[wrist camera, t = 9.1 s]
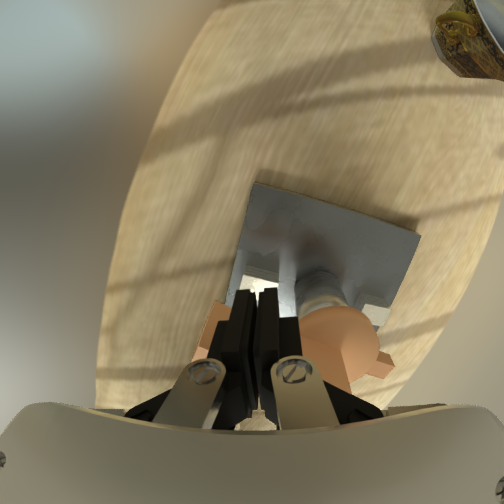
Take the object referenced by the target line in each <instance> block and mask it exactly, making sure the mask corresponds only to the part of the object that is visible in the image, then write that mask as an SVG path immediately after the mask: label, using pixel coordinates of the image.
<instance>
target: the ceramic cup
mask: <svg viewBox="0 0 504 504" xmlns="http://www.w3.org/2000/svg"><path fill="white" fill-rule="evenodd" d="M431 39H432V42H433V44H434V46H435V49H436V51H437V53H438V56H439V58H440V60H441V61H442V62H443V63H445V64H446V65H447V66H448V67H449V68H450V69H451V70H452V71H453V72H454V73H455V74H456V75H457V76H459V77H464V78H482V79H496V80H500V81H504V0H456V1H455V3H454V4H453V5H452V6H451V7H450V8H449V10H448V11H447V12H446V13H445V14H442V15H440V16H439V17H437V19H436V28H435V30H434V32H433V35H432V38H431Z"/></svg>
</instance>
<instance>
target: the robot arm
mask: <svg viewBox="0 0 504 504" xmlns="http://www.w3.org/2000/svg"><path fill="white" fill-rule="evenodd" d="M258 397H260V404H261V409H262V410H265V417H266V418H267V419H269V420H270V421H271V422H273V423H274V424H275V425H276V430H271V431H239V430H240V422H241V421H243V420H244V419H246V418H252V410H257V408H258ZM0 504H504V425H503V424H502V422H501V421H500V420H499V419H498V418H497V416H496V415H495V414H493V413H492V412H491V411H490V410H488V409H486V408H484V407H481V406H476V405H446V404H439V403H438V404H428V405H416V406H400V407H388V409H387V410H380V409H379V408H377V407H376V406H374V405H372V404H370V403H368V402H366V401H364V400H362V399H360V398H358V397H356V396H354V395H352V394H350V393H348V392H346V391H344V390H342V389H340V388H338V387H336V386H334V385H332V384H330V383H328V382H326V381H324V380H322V377H321V375H320V372H319V370H318V367H317V365H316V364H315V362H314V361H312V360H311V359H309V358H307V357H304V356H303V354H302V345H301V337H300V329H299V321H298V316H294V317H280V315H279V302H278V289H277V287H271V288H264V291H263V292H259V297H258V307H257V300H256V293H255V292H251V291H250V289H241V290H236V294H235V297H234V301H233V305H232V309H231V313H230V316H229V320H220V321H218V323H217V326H216V329H215V332H214V335H213V338H212V342H211V345H210V348H209V351H208V354H207V357H206V358H204V359H198V360H196V361H193V362H191V363H190V364H189V365H187V366H186V367H185V369H184V370H183V371H182V373H181V375H180V376H179V378H178V380H177V381H176V383H175V385H174V386H173V388H172V389H170V390H168V391H166V392H164V393H162V394H160V395H158V396H156V397H154V398H152V399H150V400H148V401H146V402H143V403H141V404H139V405H137V406H135V407H133V408H132V409H130V410H129V411H128V412H125V410H124V409H90V408H83V407H79V406H74V405H69V404H64V403H55V402H44V403H43V402H42V403H34V404H30V405H28V406H26V407H24V408H23V409H22V410H21V411H20V412H19V413H18V414H17V415H16V416H15V417H14V419H13V420H12V421H11V422H10V423H9V425H8V426H7V427H6V429H5V430H4V432H3V433H2V434H1V436H0Z"/></svg>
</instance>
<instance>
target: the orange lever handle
mask: <svg viewBox="0 0 504 504" xmlns="http://www.w3.org/2000/svg"><path fill="white" fill-rule="evenodd" d="M231 309H232V308H231V307H229V306H226V305H224V304H222V303H219V302H217V301H215V303H214V305H213V307H212V309H211V311H210V313H209V316H208V318H207V320H206V323H205V325H204V328H203V330H202V333H201V336H200V339H199V341H198V344H197V347H196V349H195V352H194V355H193V357H192V360H191V362H193V361H196V360H198V359H204V358H206V357H207V354H208V351H209V348H210V345H211V342H212V338H213V335H214V332H215V329H216V326H217V323H218V321H220V320H229V316H230V313H231ZM298 321H299V329H300V337H301V345H302V354H303V356H304V357H307V358H309V359H311V360H312V361H314V362H315V364H316V365H317V367H318V370H319V372H320V375H321V377H322V380H324V381H326V382H328V383H330V384H332V385H334V386H336V387H338V388H340V389H342V390H344V391H346V392H348V393H350V394H352V393H351V389H350V385H349V383H351V382H353V381H355V380H357V379H358V378H360V377H361V376H363V375H364V374H368V375H371V376H375V377H379V378H382V379H384V378H385V377H386V376H387V374H388V373H389V372H390V371H391V370H392V369H393V368H394V367H395V366H394V363H393V361H392V359H391V357H390V355H389V354H386V353H384V352H381V351H379V349H380V343H379V339H378V336H377V334H376V332H375V330H374V327H373V325H372V323H371V321H370V320H369V318H368V317H367V316H366V315H365V314H364V313H362V312H361V311H359V310H357V309H355V308H352V307H347V306H328V307H324V308H320V309H317V310H314V311H312V312H310V313H308V314H307V315H305V316H303V317H302V318H301V319H299V320H298Z"/></svg>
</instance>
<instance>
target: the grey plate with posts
mask: <svg viewBox="0 0 504 504" xmlns="http://www.w3.org/2000/svg"><path fill="white" fill-rule="evenodd" d="M420 238H421V235H420V234H418V233H417V232H415V231H412V230H410V229H407V228H404V227H401V226H399V225H396V224H393V223H390V222H387V221H385V220H382V219H379V218H376V217H373V216H370V215H367V214H364V213H361V212H358V211H355V210H352V209H349V208H345V207H342V206H339V205H336V204H333V203H329V202H326V201H323V200H319V199H316V198H312V197H309V196H306V195H302V194H298V193H295V192H291V191H288V190H284V189H280V188H276V187H272V186H269V185H265V184H261V183H257V182H254V184H253V187H252V191H251V195H250V200H249V204H248V208H247V212H246V216H245V220H244V224H243V228H242V233H241V237H240V241H239V245H238V249H237V254H236V258H235V262H234V266H233V271H232V275H231V279H230V283H229V288H228V292H227V296H226V301H225V305H226V306H229V307H231V308H232V305H233V301H234V297H235V294H236V290H241V289H250V291H251V292H255V293H256V300H257V307H258V297H259V292H263V291H264V288H271V287H277V289H278V302H279V315H280V317H294V316H298V320H299V319H301V318H302V317H303V316H305V315H307V314H308V313H310V312H312V311H314V310H317V309H320V308H324V307H328V306H347V307H352V308H355V309H357V310H359V311H361V312H362V313H364V314H365V315H366V316H367V317H368V318H369V320H370V321H371V323H372V325H373V327H374V330H375V332H377V330H378V328H379V326H382V327H383V326H384V324H385V322H386V320H387V318H388V316H389V314H390V312H391V311H392V308H391V307H390V306H391V304H392V302H393V300H394V298H395V296H396V294H397V291H398V289H399V287H400V285H401V283H402V281H403V279H404V276H405V274H406V272H407V270H408V267H409V265H410V263H411V260H412V258H413V256H414V253H415V251H416V248H417V246H418V243H419V241H420Z"/></svg>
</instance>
